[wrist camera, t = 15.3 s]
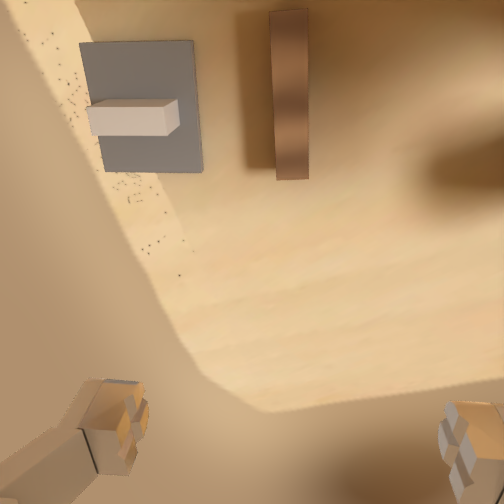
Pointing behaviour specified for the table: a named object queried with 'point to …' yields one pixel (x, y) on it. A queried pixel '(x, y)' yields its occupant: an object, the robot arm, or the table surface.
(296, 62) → the beam
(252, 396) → the table surface
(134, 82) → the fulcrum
